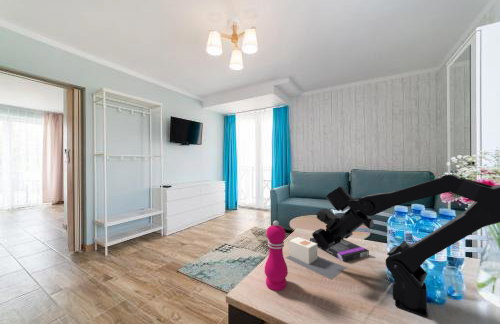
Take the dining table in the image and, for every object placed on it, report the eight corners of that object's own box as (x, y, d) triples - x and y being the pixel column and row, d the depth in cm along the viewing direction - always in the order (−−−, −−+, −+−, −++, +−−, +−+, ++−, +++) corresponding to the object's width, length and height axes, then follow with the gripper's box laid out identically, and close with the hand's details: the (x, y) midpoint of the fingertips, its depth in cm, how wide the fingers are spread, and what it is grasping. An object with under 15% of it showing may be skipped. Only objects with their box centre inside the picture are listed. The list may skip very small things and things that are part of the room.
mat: (346, 268, 70) (346, 267, 70) (331, 280, 63) (331, 279, 63) (301, 250, 84) (301, 249, 84) (285, 258, 77) (285, 257, 77)
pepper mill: (274, 295, 56) (274, 225, 56) (259, 282, 62) (259, 219, 62) (292, 286, 60) (292, 221, 60) (277, 275, 66) (276, 216, 66)
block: (317, 243, 76) (298, 236, 83) (308, 248, 72) (289, 240, 79) (317, 259, 76) (298, 251, 83) (308, 264, 72) (289, 255, 79)
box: (369, 258, 79) (331, 240, 97) (369, 249, 79) (331, 233, 97) (344, 265, 74) (309, 244, 92) (344, 255, 74) (309, 236, 92)
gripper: (343, 199, 75) (317, 222, 83) (317, 206, 63) (290, 232, 71) (366, 224, 69) (336, 246, 77) (342, 238, 56) (309, 262, 65)
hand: (318, 245), depth 72 cm, fingers closed
